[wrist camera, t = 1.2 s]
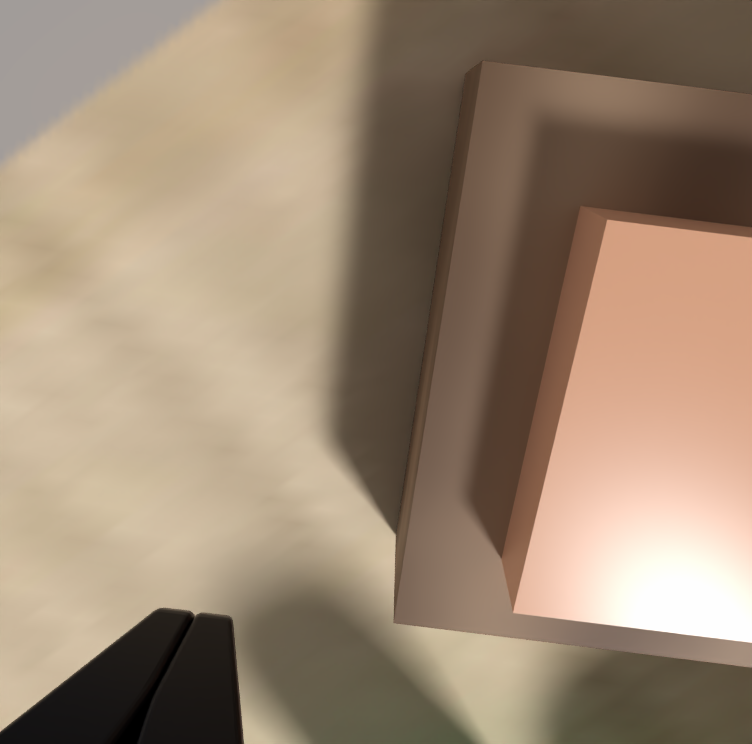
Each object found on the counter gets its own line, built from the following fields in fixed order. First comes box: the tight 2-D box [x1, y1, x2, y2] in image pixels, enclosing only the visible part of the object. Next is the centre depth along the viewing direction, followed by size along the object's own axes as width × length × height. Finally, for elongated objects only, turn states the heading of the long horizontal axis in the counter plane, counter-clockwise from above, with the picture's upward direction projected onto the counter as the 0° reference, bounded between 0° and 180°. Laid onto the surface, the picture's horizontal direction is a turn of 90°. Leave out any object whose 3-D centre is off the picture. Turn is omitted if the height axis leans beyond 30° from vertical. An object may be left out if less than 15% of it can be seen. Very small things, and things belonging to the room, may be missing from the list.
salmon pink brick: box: [501, 206, 752, 643], centre depth 15 cm, size 6×9×2 cm, turn 173°
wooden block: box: [394, 61, 752, 667], centre depth 17 cm, size 12×14×4 cm
